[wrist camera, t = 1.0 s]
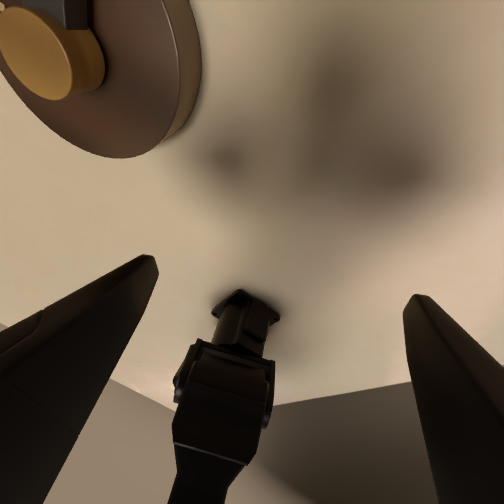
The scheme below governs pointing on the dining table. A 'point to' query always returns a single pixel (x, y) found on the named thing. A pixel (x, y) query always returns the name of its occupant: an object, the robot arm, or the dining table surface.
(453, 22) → the dining table surface
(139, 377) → the dining table surface
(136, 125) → the crank base
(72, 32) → the crank handle
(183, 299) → the dining table surface
